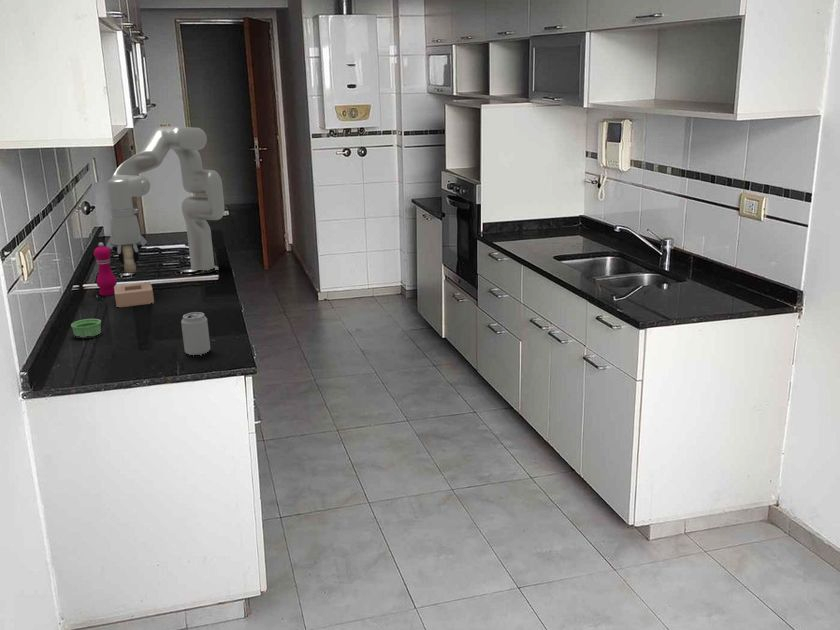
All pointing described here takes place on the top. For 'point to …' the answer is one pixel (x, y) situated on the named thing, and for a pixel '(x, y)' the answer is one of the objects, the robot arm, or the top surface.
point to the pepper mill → (104, 271)
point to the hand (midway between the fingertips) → (129, 262)
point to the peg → (128, 258)
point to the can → (195, 333)
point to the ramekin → (86, 327)
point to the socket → (133, 294)
